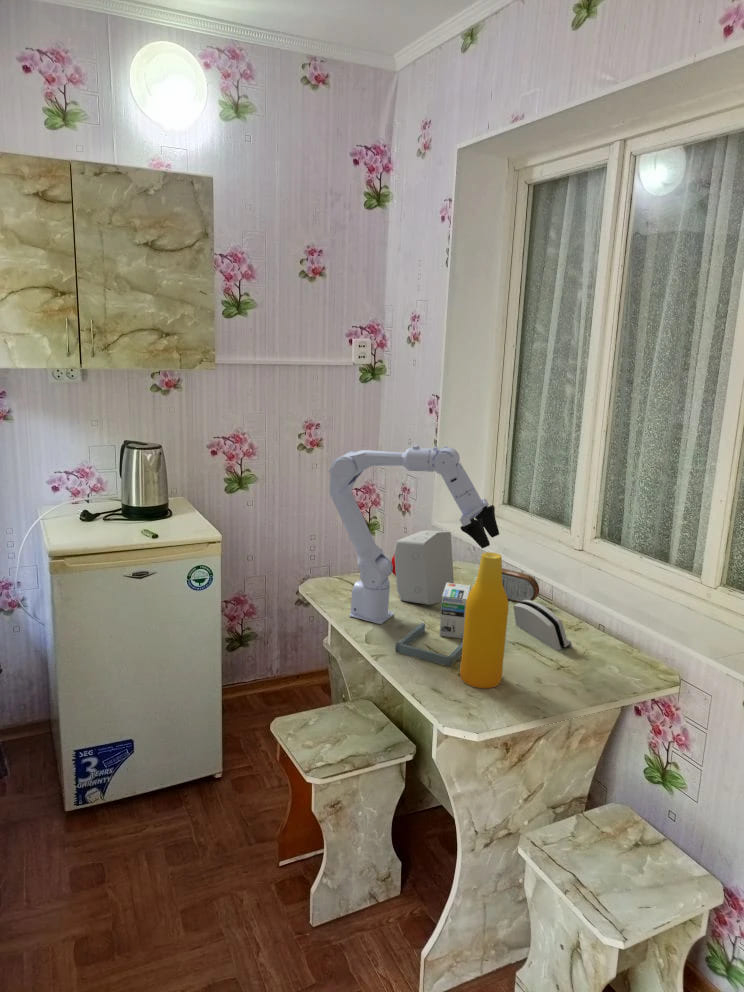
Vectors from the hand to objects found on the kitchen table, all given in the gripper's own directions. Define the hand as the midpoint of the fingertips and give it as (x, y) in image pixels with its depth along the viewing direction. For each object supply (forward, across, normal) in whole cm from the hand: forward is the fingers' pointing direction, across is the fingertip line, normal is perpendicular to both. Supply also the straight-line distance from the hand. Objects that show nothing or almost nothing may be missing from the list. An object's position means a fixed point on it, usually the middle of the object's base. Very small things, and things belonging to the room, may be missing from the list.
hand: (491, 541), depth 186 cm
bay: (+15, -16, +19) cm, 29 cm away
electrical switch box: (+8, +14, +35) cm, 39 cm away
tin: (+23, +25, +16) cm, 37 cm away
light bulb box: (+17, -4, +20) cm, 26 cm away
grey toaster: (+29, +4, +3) cm, 29 cm away
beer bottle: (+23, -26, +6) cm, 35 cm away
